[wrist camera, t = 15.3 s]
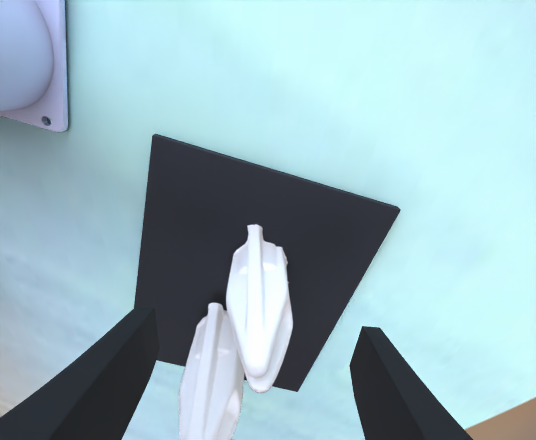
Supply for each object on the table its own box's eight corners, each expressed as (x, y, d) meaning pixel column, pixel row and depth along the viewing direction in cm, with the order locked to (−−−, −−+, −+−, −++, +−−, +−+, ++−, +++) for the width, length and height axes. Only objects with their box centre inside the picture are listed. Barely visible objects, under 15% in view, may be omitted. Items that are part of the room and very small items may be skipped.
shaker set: (235, 349, 24) (206, 534, 14) (190, 333, 24) (126, 515, 14) (304, 245, 19) (330, 417, 10) (249, 220, 19) (215, 378, 9)
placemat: (131, 349, 26) (128, 354, 25) (155, 133, 17) (152, 135, 16) (297, 387, 27) (297, 392, 27) (398, 206, 18) (401, 210, 18)
